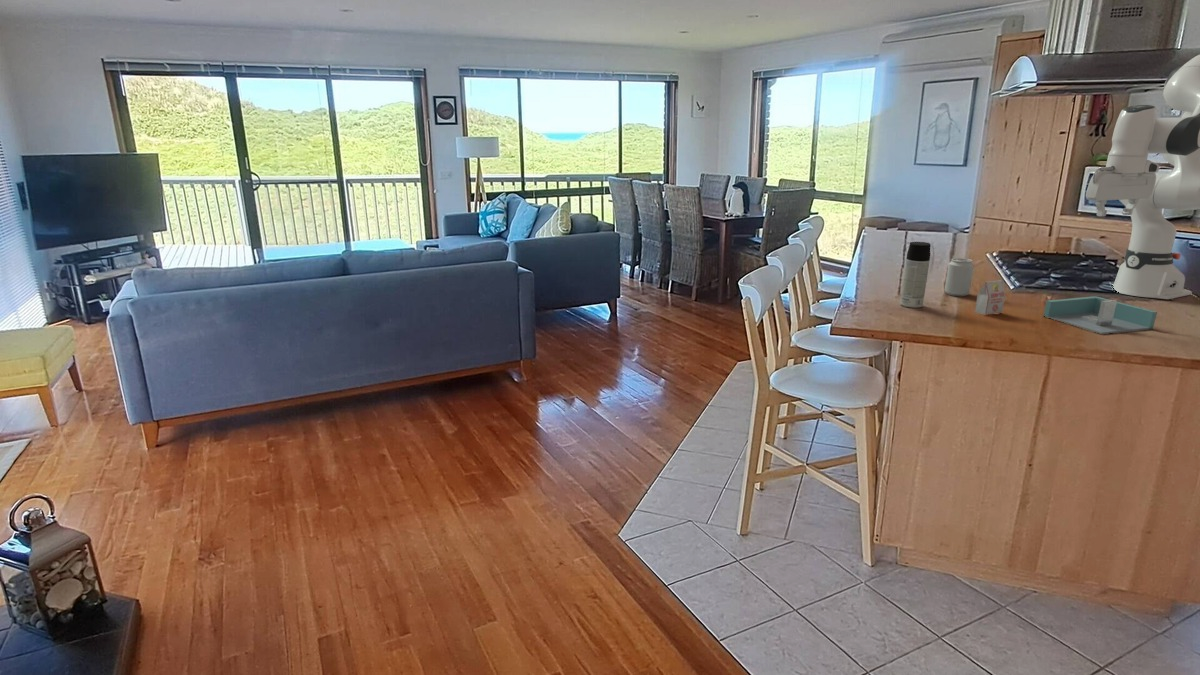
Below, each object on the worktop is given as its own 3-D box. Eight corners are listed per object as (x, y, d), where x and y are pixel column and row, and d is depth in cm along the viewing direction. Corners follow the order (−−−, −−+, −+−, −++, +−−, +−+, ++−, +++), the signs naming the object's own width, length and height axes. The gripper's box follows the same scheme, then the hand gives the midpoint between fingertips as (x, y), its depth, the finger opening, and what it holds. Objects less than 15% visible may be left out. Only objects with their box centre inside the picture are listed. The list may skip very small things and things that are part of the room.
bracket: (1111, 325, 182) (1117, 300, 180) (1100, 326, 181) (1105, 302, 179) (1091, 319, 188) (1096, 295, 186) (1080, 320, 187) (1085, 296, 185)
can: (972, 297, 215) (978, 261, 212) (947, 296, 217) (953, 261, 213) (965, 292, 222) (970, 257, 219) (941, 291, 224) (946, 256, 220)
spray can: (922, 304, 209) (931, 242, 202) (923, 309, 203) (932, 245, 197) (900, 302, 211) (908, 240, 205) (899, 307, 205) (908, 244, 199)
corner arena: (1091, 312, 197) (1095, 296, 195) (1152, 329, 180) (1157, 311, 179) (1043, 317, 193) (1046, 300, 191) (1100, 334, 176) (1105, 317, 175)
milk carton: (974, 312, 198) (979, 280, 195) (991, 310, 200) (997, 278, 197) (984, 316, 195) (990, 283, 192) (1001, 313, 197) (1007, 281, 194)
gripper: (1106, 167, 178) (1095, 218, 183) (1164, 165, 183) (1152, 215, 187) (1085, 166, 184) (1074, 215, 188) (1142, 164, 189) (1130, 212, 193)
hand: (1114, 215), depth 188 cm, fingers open, 8 cm apart
